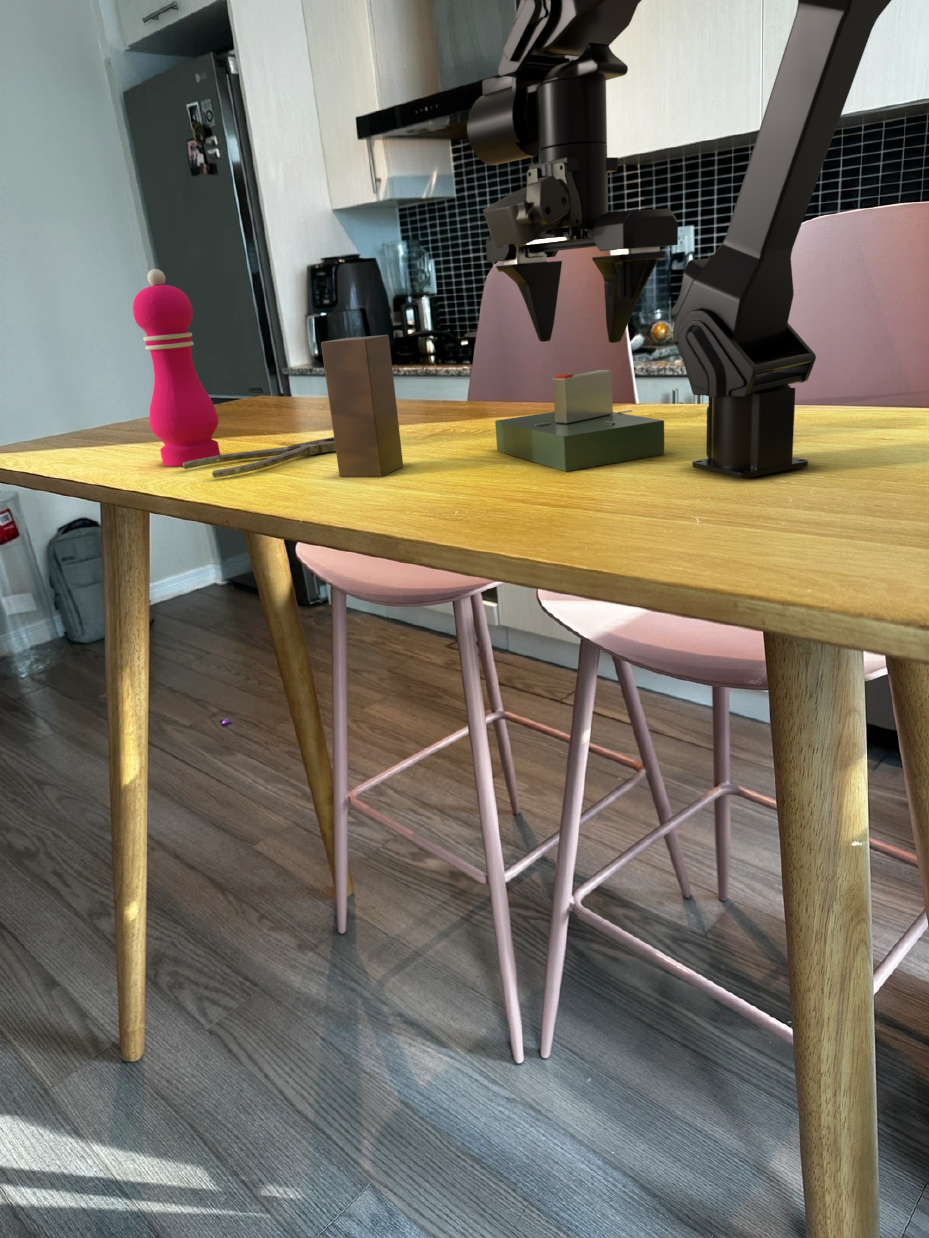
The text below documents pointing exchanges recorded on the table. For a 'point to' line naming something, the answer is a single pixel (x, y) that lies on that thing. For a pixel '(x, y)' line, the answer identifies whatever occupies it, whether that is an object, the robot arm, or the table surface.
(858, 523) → the table surface
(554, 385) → the grey slab
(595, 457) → the dark green flat block
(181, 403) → the pepper mill
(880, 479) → the table surface
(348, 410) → the walnut block
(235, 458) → the forked twig
